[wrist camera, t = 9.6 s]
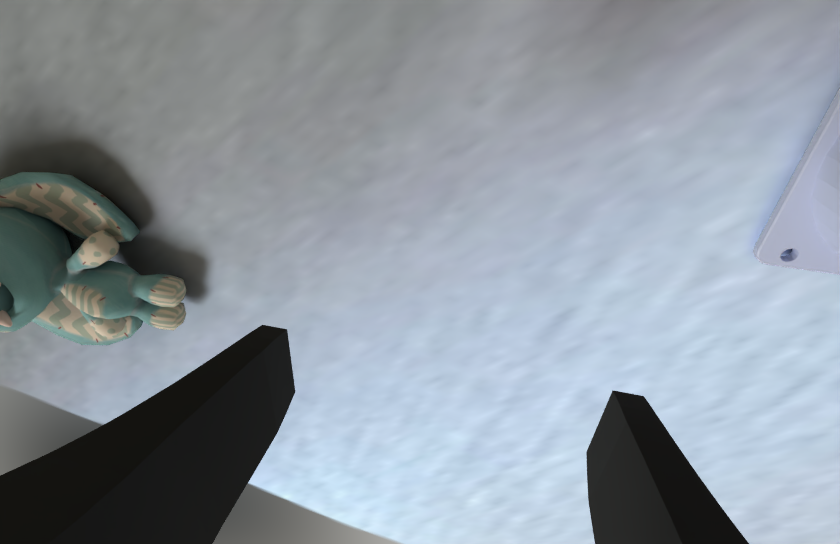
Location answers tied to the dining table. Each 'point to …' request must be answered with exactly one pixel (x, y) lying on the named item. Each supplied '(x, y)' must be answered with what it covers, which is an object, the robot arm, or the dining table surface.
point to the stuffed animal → (75, 264)
